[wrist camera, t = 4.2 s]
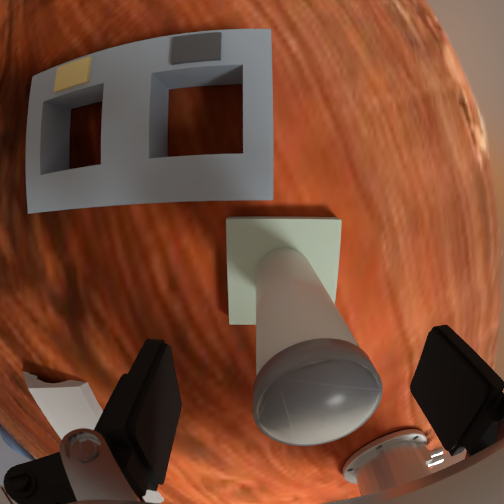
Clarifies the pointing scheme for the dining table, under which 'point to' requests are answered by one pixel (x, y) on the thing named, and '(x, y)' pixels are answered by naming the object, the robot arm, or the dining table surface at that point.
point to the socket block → (150, 123)
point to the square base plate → (267, 239)
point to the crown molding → (71, 409)
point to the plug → (306, 358)
